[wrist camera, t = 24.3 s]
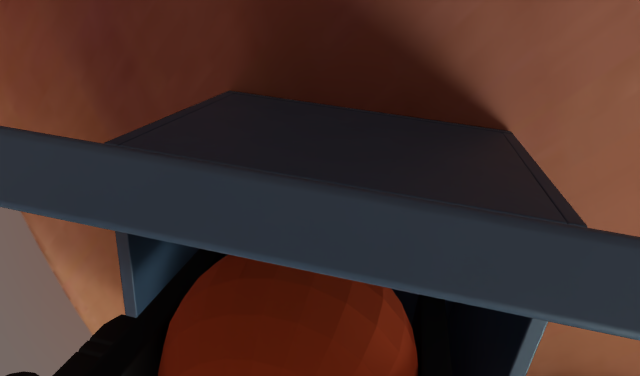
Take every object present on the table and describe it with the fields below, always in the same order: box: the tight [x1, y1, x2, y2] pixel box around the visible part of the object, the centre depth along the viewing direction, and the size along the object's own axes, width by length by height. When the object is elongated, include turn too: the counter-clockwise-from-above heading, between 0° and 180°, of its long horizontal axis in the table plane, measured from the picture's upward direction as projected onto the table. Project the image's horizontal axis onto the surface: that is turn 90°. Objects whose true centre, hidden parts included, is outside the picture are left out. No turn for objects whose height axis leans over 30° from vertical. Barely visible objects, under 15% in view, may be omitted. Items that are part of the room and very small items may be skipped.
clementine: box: [158, 255, 419, 376], centre depth 12 cm, size 8×7×7 cm
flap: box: [0, 126, 640, 340], centre depth 7 cm, size 9×14×1 cm
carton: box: [104, 91, 587, 376], centre depth 19 cm, size 19×14×10 cm
